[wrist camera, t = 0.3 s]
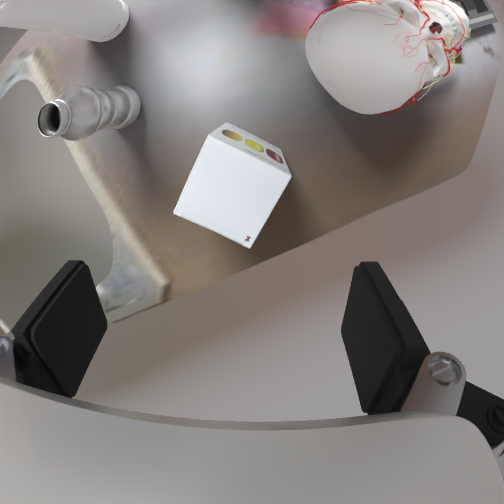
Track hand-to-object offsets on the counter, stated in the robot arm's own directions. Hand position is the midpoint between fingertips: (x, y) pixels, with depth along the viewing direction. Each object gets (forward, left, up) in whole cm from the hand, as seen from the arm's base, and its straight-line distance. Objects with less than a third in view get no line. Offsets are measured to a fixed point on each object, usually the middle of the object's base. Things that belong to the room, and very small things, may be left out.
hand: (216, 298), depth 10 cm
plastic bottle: (-16, -12, -37) cm, 42 cm away
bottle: (-31, -6, -37) cm, 49 cm away
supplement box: (+2, -3, -37) cm, 37 cm away
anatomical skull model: (-3, +25, -38) cm, 45 cm away
